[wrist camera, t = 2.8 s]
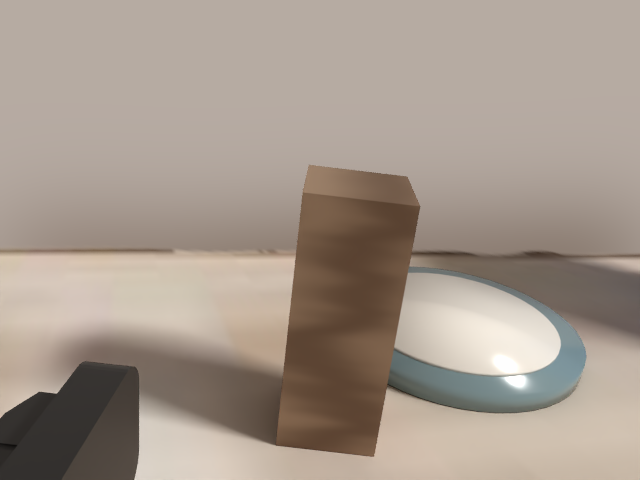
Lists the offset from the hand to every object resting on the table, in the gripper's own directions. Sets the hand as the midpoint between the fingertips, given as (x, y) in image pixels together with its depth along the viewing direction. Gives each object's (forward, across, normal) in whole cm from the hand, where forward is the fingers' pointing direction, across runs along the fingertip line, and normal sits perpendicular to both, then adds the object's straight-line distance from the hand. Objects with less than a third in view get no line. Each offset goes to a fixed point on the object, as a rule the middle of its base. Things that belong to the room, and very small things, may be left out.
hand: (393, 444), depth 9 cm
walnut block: (+16, 0, +12) cm, 20 cm away
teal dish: (+26, -8, +12) cm, 30 cm away
